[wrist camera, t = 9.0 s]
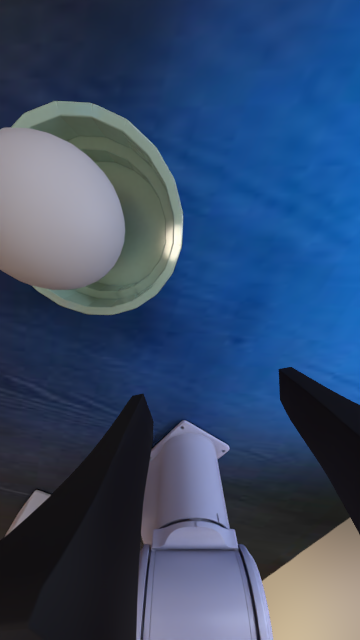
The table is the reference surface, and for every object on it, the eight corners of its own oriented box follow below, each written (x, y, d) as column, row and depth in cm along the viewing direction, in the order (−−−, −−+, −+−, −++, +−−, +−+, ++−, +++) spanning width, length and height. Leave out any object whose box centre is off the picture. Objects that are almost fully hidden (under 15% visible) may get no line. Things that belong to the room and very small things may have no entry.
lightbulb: (63, 246, 17) (-116, 255, 7) (86, 169, 15) (-118, 9, 5) (130, 280, 18) (67, 333, 8) (160, 213, 16) (128, 163, 6)
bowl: (133, 319, 20) (119, 343, 15) (20, 242, 17) (-39, 243, 13) (209, 217, 17) (221, 208, 12) (84, 102, 14) (37, 33, 9)
